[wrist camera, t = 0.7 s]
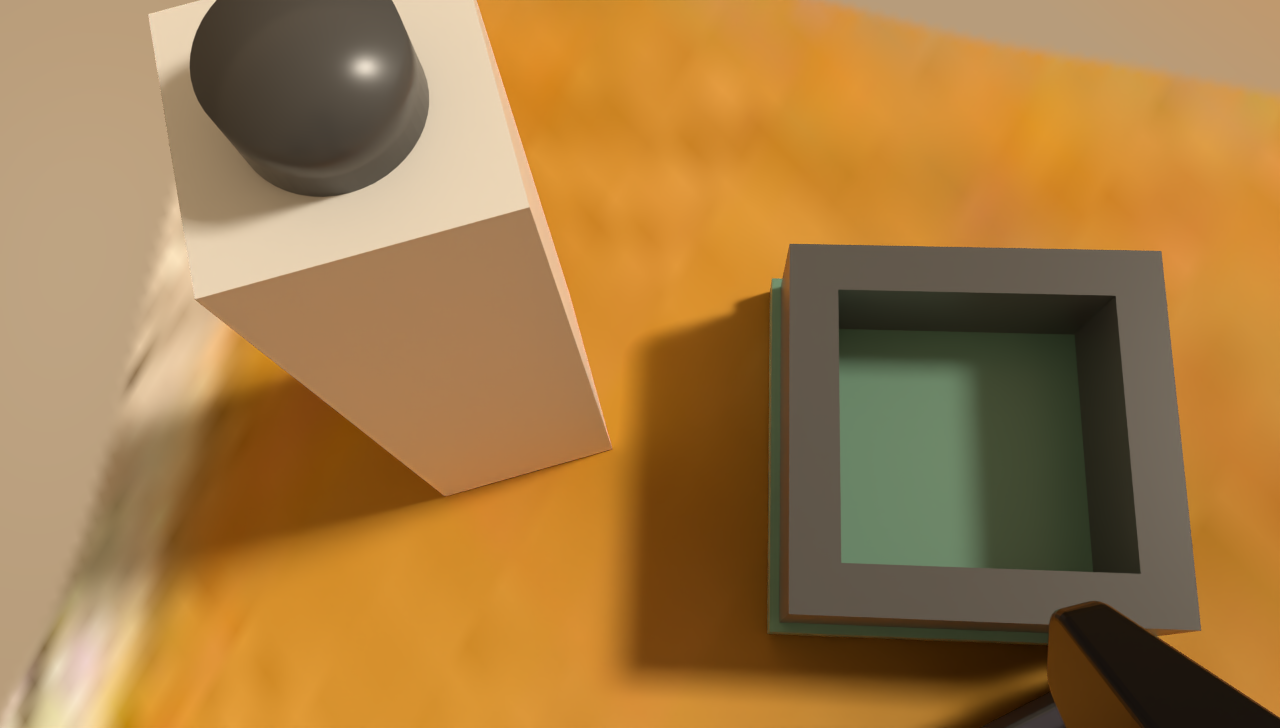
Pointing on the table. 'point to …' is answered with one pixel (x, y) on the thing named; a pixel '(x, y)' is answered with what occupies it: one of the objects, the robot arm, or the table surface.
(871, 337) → the grey and green tray
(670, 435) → the table surface
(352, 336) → the plug
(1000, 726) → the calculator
